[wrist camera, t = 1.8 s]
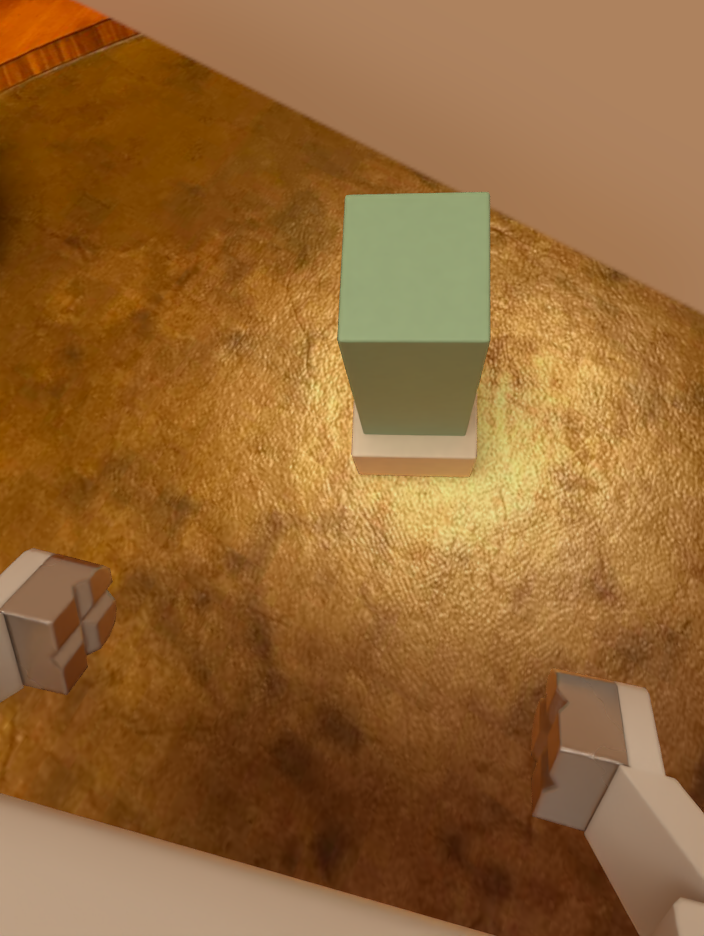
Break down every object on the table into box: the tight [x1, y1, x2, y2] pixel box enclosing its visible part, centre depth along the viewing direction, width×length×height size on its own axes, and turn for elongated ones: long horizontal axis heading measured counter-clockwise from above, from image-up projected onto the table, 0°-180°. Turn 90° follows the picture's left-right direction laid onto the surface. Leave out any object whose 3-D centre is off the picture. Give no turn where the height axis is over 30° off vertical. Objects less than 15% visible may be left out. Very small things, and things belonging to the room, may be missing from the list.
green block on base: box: [337, 192, 490, 477], centre depth 21 cm, size 4×6×11 cm
